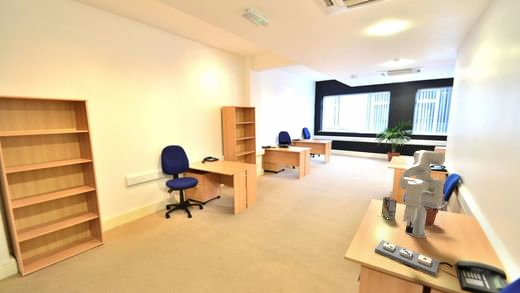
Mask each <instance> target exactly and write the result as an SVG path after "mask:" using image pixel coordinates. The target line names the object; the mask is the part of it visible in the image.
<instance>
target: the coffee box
mask: <svg viewBox="0 0 520 293" xmlns="http://www.w3.org/2000/svg"><path fill="white" fill-rule="evenodd" d="M397 202H398V201H397V200H396V199H394V198H393V197H391V196H383V197H382V208H381V215H382V214H383V215H384V216H385V217H387V218H388V219H395V220H396V214H397V213H396V212H397ZM384 216H383V217H384ZM385 217H384V218H385ZM387 218H386V219H387ZM388 219H387V220H388Z"/></svg>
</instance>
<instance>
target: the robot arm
mask: <svg viewBox="0 0 520 293" xmlns="http://www.w3.org/2000/svg"><path fill="white" fill-rule="evenodd" d="M445 161H446V155H445V153H443V152H440V151H434V150H417V151H415V152H414V153H413V164H412V166H409V167H407V168H406V169H404V170H403V171H402V173H401V175H400V179H399V181H398V182H399V183H398V185H399V188H400V189H402V190H405V197H404V206H405V209H404V212H403V214H404V215H403V220H402V221H403V223H406V225H405V229H404V230H405V233H406V234H407V235H409V236H412V237H414V238H417V239H418V238H419V239H426V238H427V233H426V232H425V226H426V224H425V221H426V210H425V208H424V207H423V206H427V207H431V208H438V209H440V208H441V206H442V203H443V202H442V201H443V193H444V181H443V180H442V179H440V178H437V177H432V168H431V167H430V166H431V165H434V166H442V165H444V163H445ZM414 176H415V178H412V177H414ZM428 191H432V192H433V193H429V192H428Z"/></svg>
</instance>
